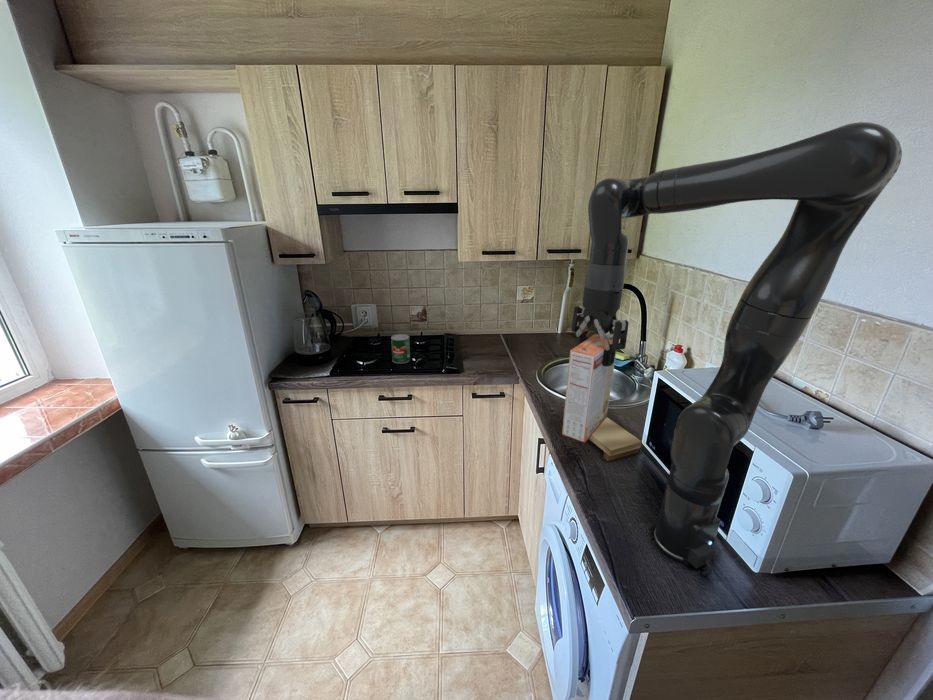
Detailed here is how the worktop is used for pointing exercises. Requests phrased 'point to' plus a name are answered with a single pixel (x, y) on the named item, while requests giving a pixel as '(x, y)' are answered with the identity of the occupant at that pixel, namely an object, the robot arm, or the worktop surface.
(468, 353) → the worktop surface
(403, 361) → the canned tomato
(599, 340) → the cracker box
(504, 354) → the worktop surface
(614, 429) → the tan wooden slab
